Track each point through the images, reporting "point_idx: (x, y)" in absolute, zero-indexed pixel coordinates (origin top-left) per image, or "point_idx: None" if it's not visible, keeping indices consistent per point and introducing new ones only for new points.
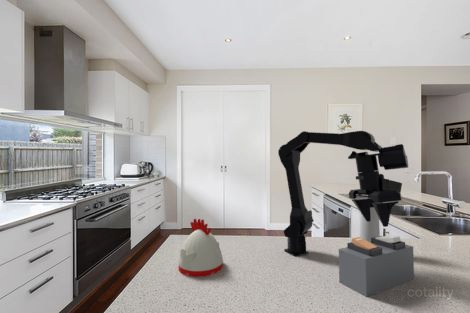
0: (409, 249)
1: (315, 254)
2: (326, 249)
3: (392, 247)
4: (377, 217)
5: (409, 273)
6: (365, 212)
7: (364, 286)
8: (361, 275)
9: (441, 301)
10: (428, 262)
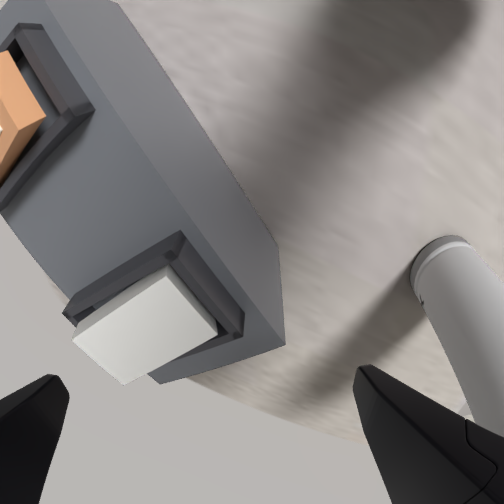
0: None
1: (442, 2)
2: (498, 92)
3: (78, 296)
4: (474, 419)
5: None
6: (398, 447)
7: None
8: None
9: None
10: (320, 381)
